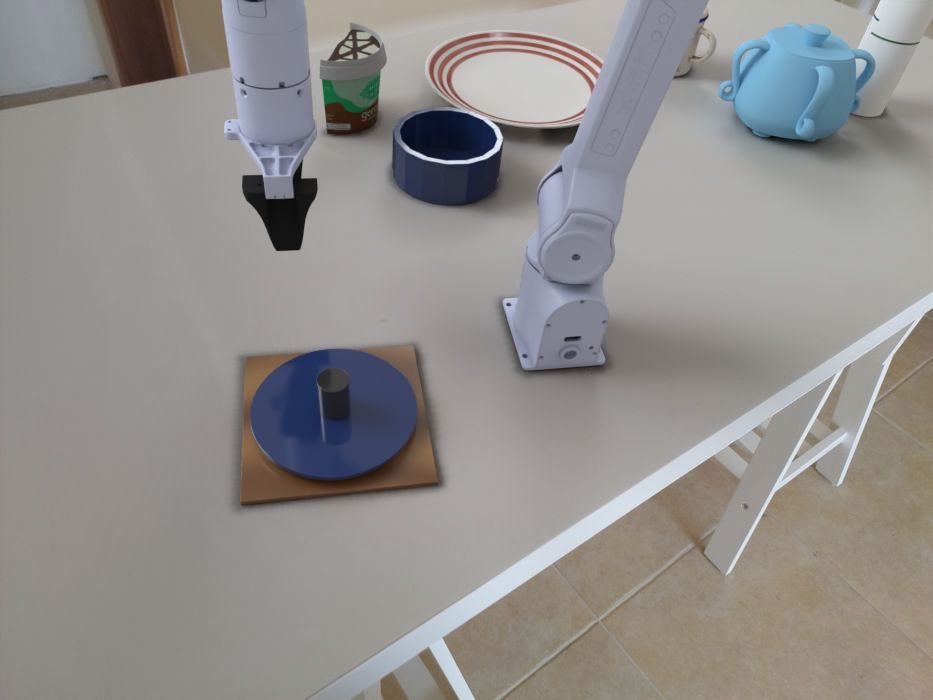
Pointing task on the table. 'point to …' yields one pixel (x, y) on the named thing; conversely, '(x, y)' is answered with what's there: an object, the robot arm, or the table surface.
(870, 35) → the cylindrical container
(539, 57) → the dinner plate
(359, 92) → the food container
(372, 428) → the tin lid
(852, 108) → the decorative pot
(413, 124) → the tin
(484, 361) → the table surface
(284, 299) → the table surface
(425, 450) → the board
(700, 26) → the teacup with lid
